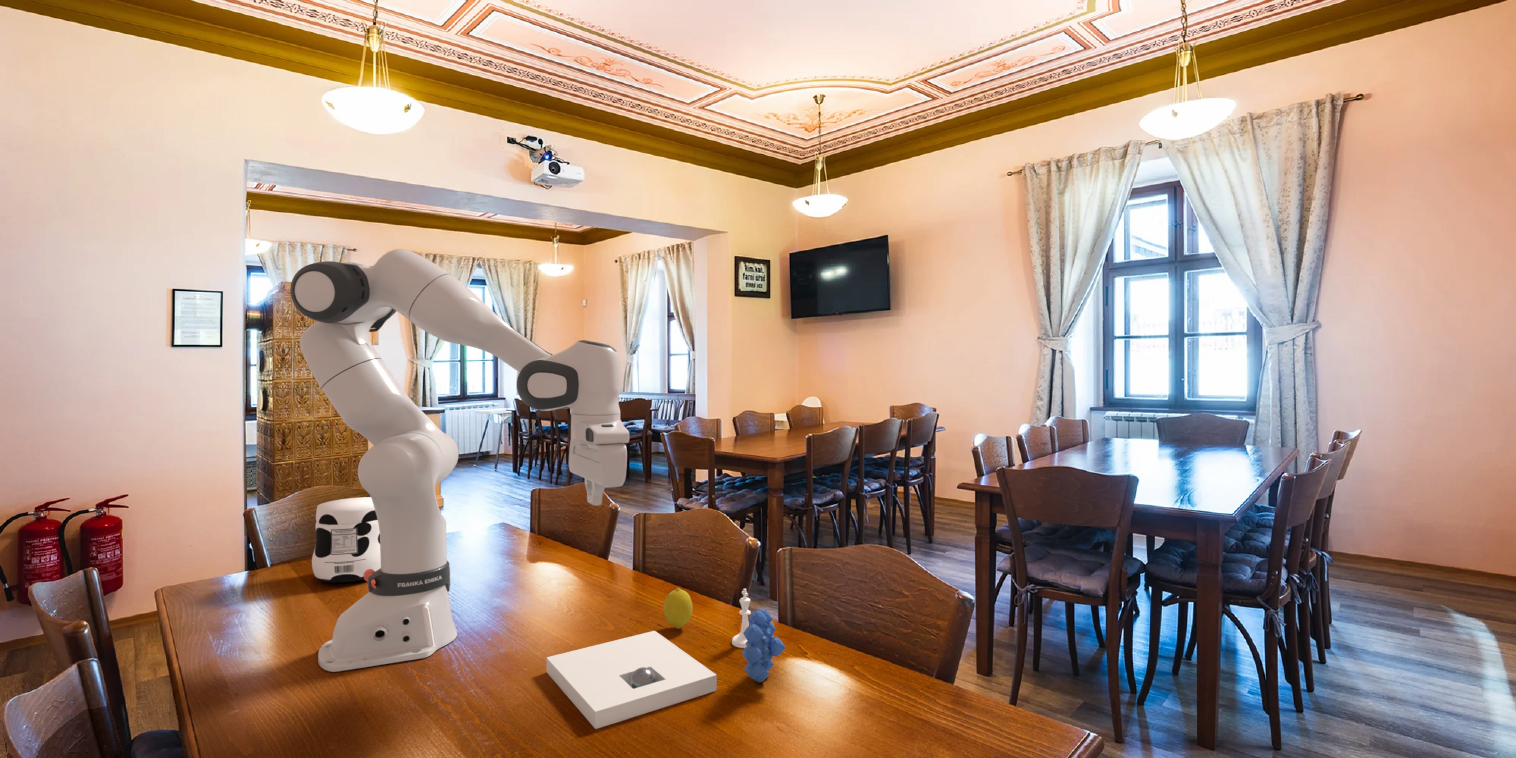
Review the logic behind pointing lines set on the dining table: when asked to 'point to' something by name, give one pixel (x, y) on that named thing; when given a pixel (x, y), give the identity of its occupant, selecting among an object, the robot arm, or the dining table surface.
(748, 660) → the grapes
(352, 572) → the milk container
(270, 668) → the dining table surface
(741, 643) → the chess piece
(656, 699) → the hole board
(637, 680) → the steel ball
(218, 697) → the dining table surface
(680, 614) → the lemon
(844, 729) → the dining table surface
